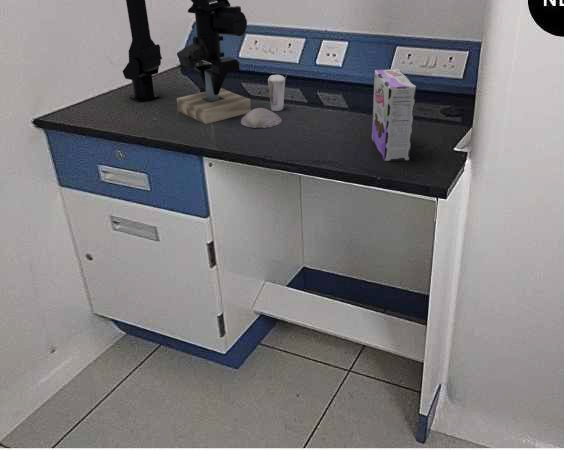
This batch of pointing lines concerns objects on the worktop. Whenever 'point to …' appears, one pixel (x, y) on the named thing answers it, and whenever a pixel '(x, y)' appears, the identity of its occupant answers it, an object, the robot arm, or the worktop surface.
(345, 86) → the worktop surface
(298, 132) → the worktop surface
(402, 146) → the candy box
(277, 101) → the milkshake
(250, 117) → the seashell
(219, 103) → the socket block
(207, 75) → the dowel
